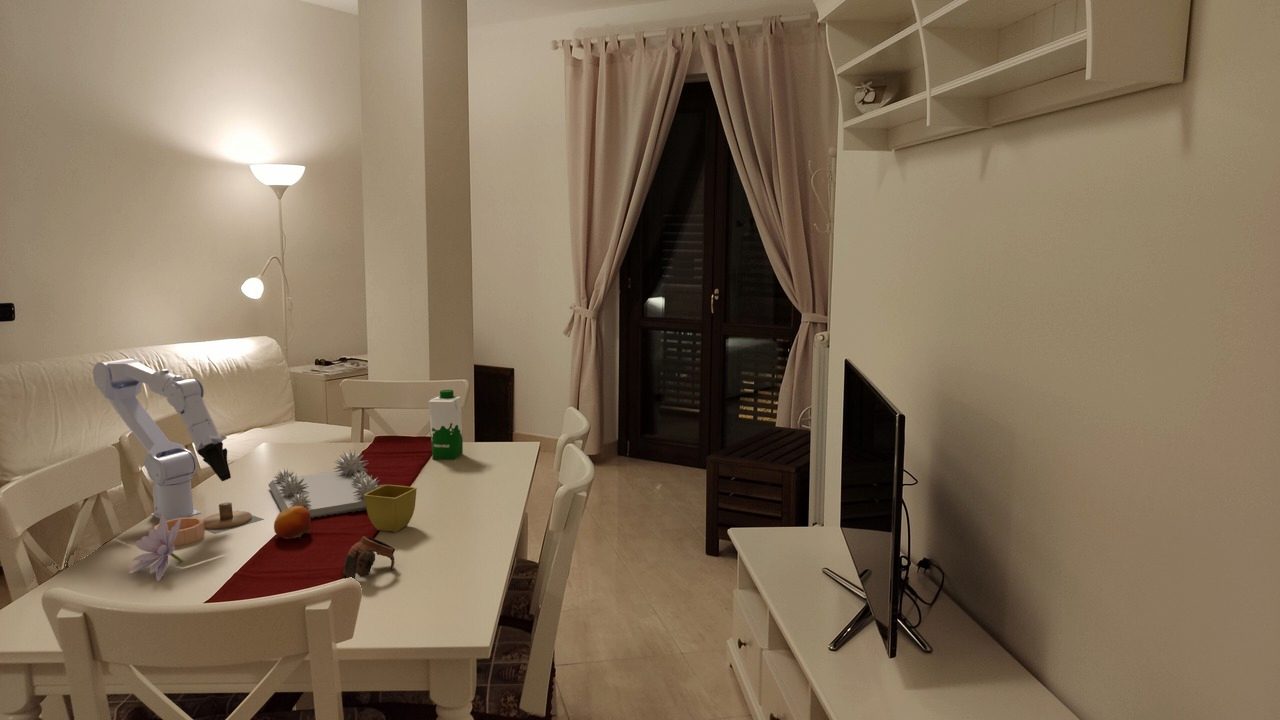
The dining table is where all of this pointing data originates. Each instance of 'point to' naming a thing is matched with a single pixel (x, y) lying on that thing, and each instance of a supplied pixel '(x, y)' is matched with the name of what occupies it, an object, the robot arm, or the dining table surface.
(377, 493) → the flower pot
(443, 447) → the milk carton
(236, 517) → the lid
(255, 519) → the mat
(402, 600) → the dining table surface
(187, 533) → the bowl
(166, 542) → the water lily
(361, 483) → the decorative tray
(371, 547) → the pottery mug
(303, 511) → the fruit
